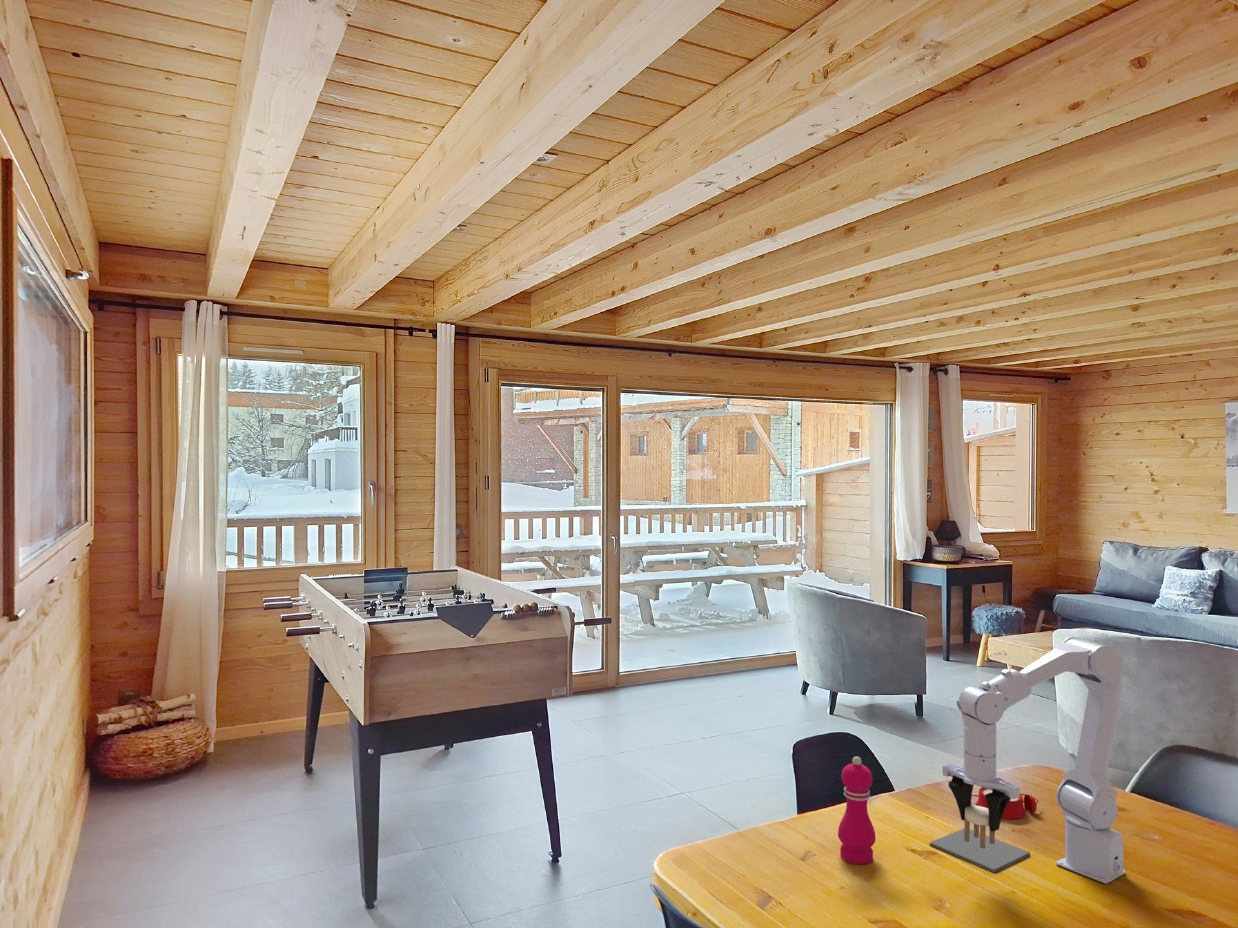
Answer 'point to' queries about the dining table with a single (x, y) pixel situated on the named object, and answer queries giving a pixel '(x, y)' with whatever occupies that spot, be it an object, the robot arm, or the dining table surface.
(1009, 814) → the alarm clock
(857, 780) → the pepper mill
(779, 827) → the dining table surface
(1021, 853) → the mat
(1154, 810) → the dining table surface
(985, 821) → the stool
